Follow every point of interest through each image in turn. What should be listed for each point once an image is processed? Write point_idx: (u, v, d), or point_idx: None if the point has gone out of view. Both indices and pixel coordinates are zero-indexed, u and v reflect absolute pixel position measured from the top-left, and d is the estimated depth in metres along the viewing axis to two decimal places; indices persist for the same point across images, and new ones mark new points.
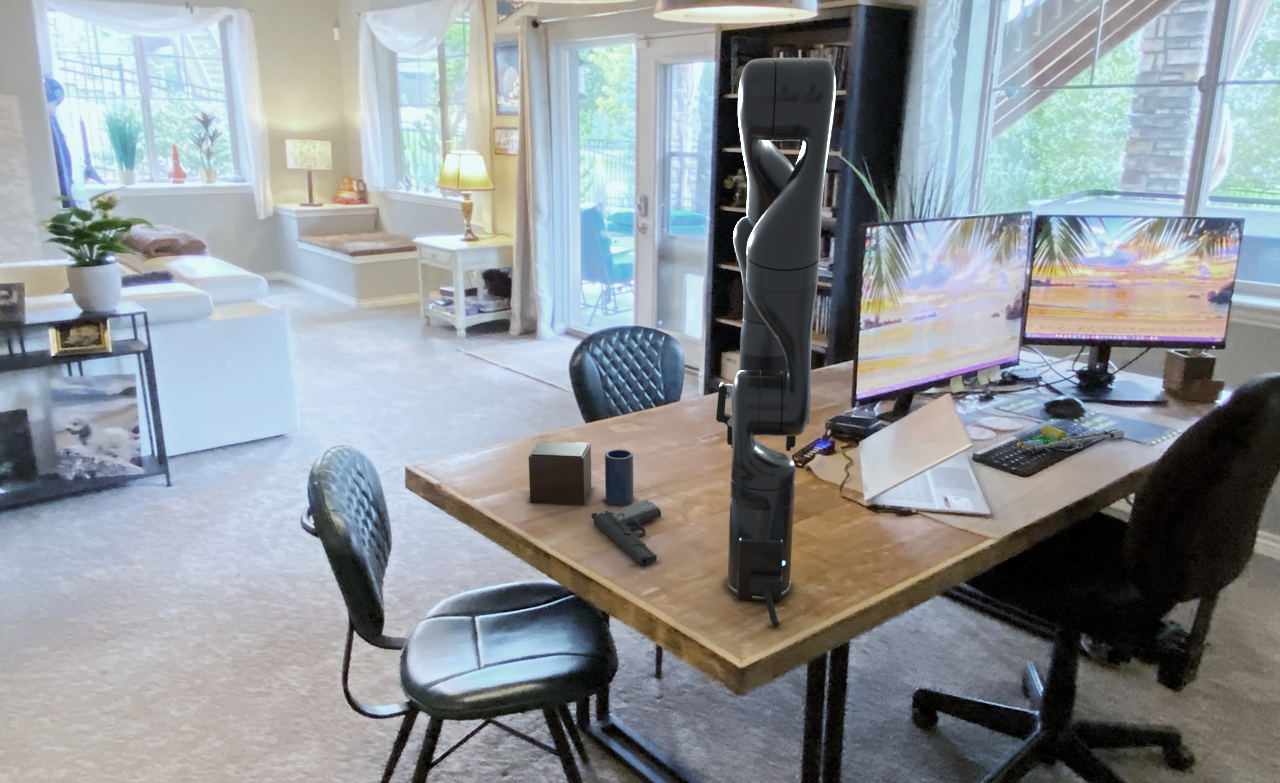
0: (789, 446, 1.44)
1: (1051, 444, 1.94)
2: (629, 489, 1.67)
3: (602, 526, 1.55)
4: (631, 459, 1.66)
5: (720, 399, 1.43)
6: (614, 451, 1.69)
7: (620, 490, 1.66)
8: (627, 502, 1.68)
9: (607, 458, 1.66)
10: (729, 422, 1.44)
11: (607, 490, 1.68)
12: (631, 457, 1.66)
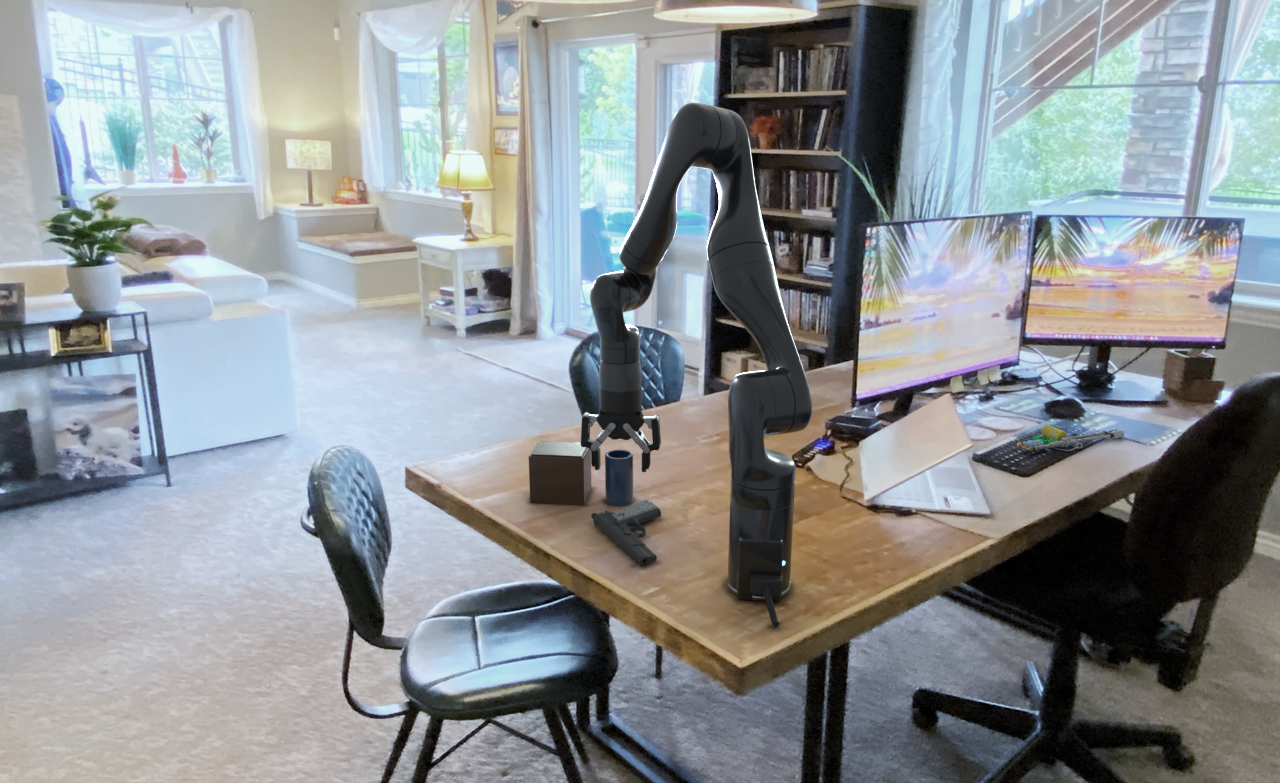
0: (644, 468, 1.66)
1: (1051, 444, 1.94)
2: (629, 489, 1.67)
3: (602, 526, 1.55)
4: (631, 459, 1.66)
5: (583, 427, 1.65)
6: (614, 451, 1.69)
7: (620, 490, 1.66)
8: (627, 502, 1.68)
9: (607, 458, 1.66)
10: (592, 447, 1.66)
11: (607, 490, 1.68)
12: (631, 457, 1.66)
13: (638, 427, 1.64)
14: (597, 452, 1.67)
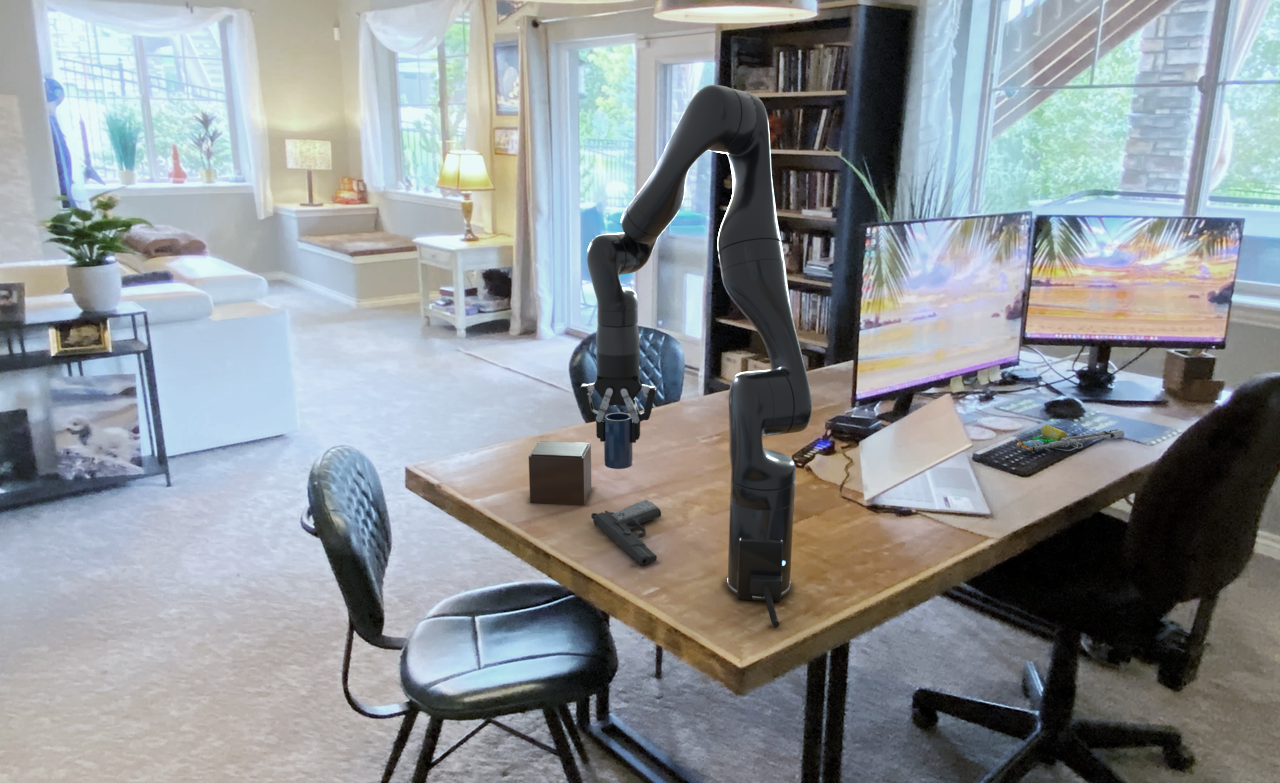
0: (634, 438, 1.64)
1: (1051, 444, 1.94)
2: (628, 452, 1.65)
3: (602, 526, 1.55)
4: (630, 421, 1.64)
5: (583, 398, 1.63)
6: (613, 414, 1.67)
7: (619, 453, 1.64)
8: (626, 465, 1.65)
9: (606, 420, 1.63)
10: (597, 418, 1.64)
11: (606, 453, 1.65)
12: (630, 419, 1.64)
13: (636, 392, 1.62)
14: (602, 423, 1.64)
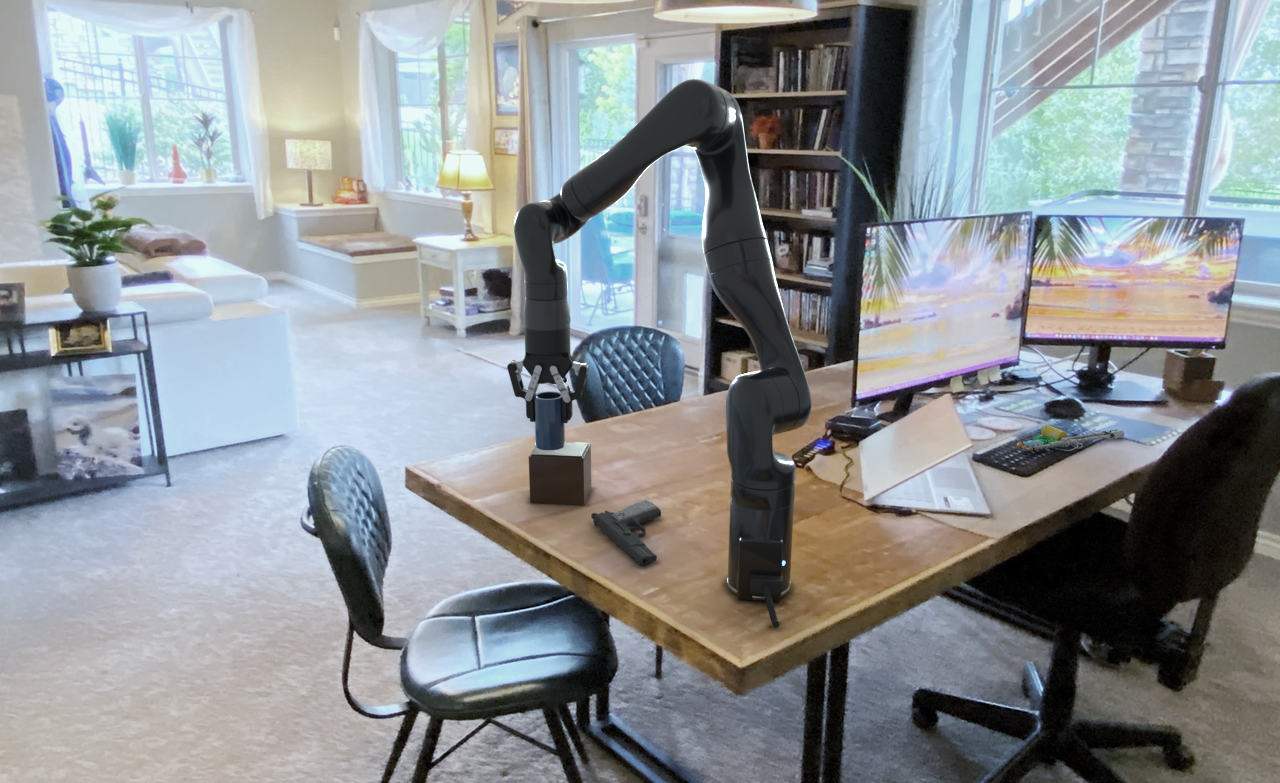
0: (565, 419, 1.56)
1: (1051, 444, 1.94)
2: (559, 433, 1.57)
3: (602, 526, 1.55)
4: (561, 400, 1.56)
5: (512, 376, 1.55)
6: (544, 393, 1.58)
7: (549, 434, 1.56)
8: (557, 447, 1.57)
9: (535, 399, 1.55)
10: (526, 397, 1.56)
11: (536, 434, 1.57)
12: (561, 398, 1.56)
13: (566, 370, 1.54)
14: (532, 402, 1.56)
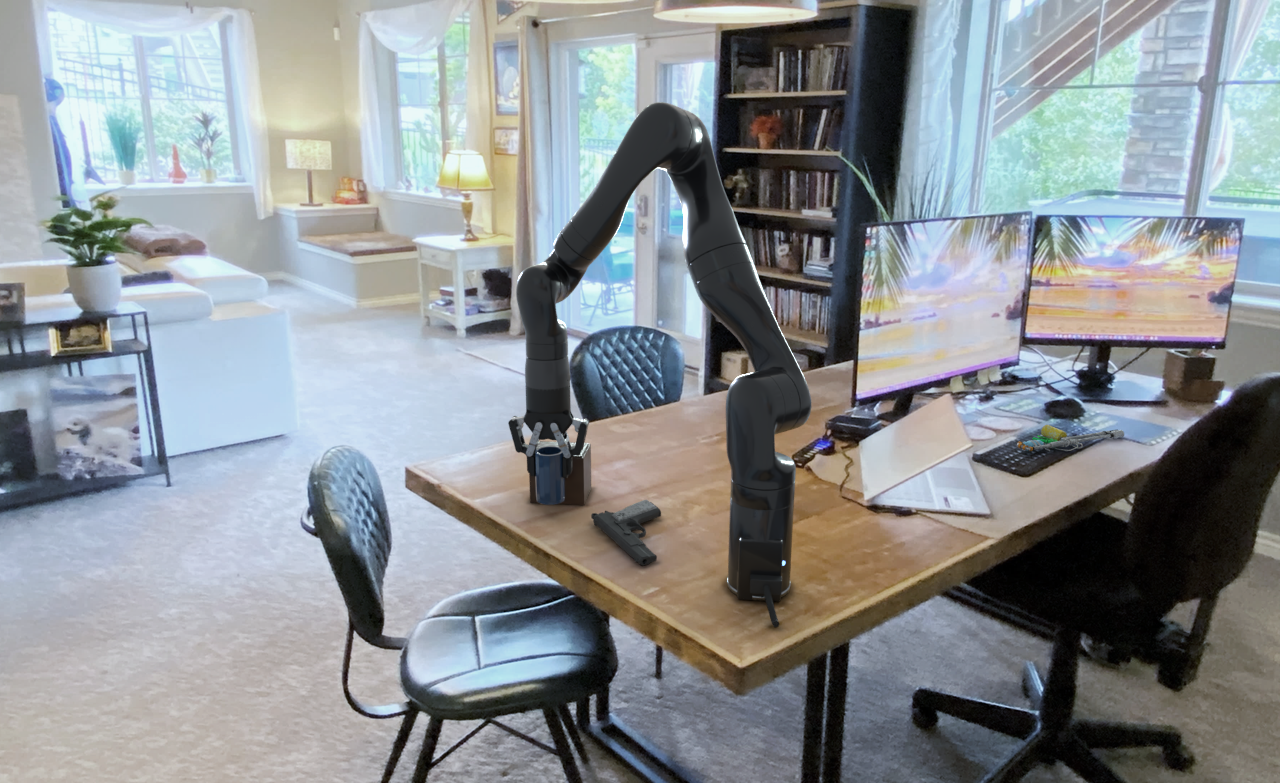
0: (565, 474, 1.59)
1: (1051, 444, 1.94)
2: (560, 487, 1.59)
3: (602, 526, 1.55)
4: (561, 456, 1.58)
5: (513, 432, 1.58)
6: (545, 448, 1.61)
7: (549, 489, 1.59)
8: (558, 501, 1.60)
9: (536, 455, 1.58)
10: (527, 452, 1.59)
11: (537, 488, 1.60)
12: (561, 454, 1.58)
13: (566, 427, 1.57)
14: (533, 458, 1.59)
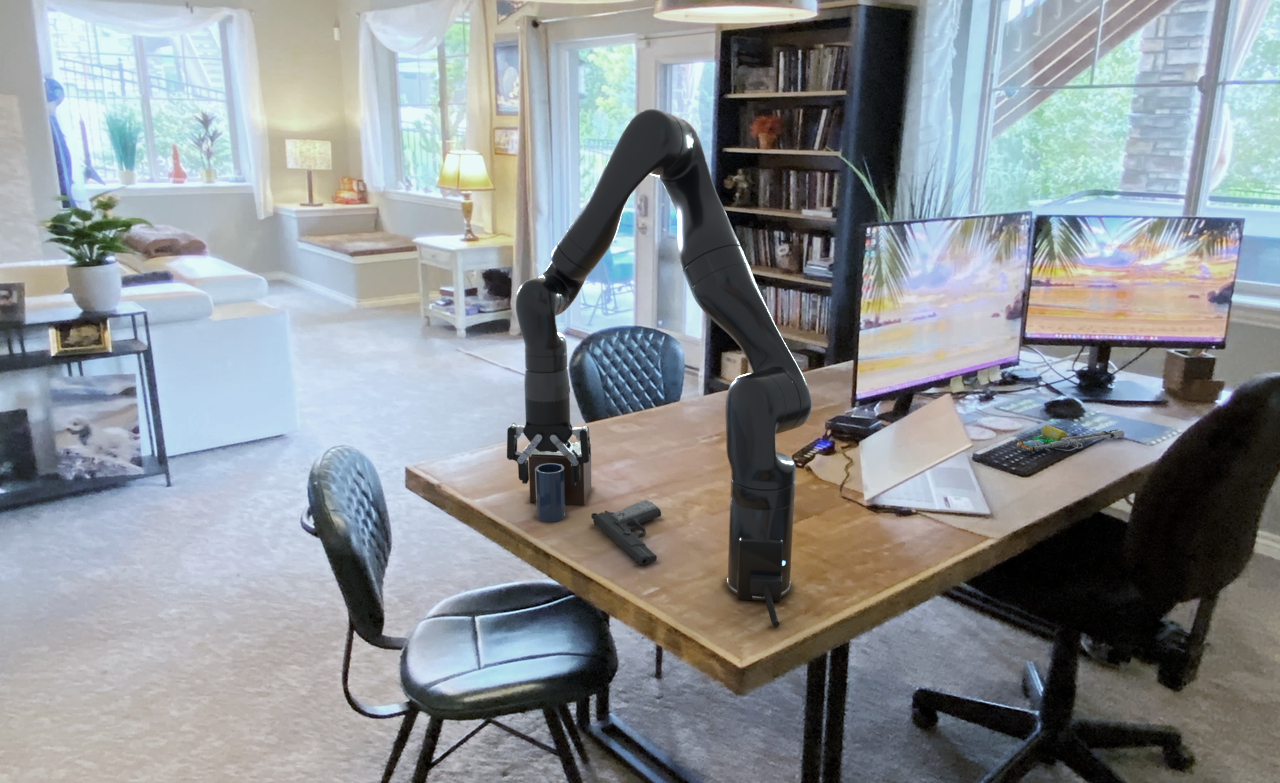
0: (573, 481, 1.59)
1: (1051, 444, 1.94)
2: (560, 505, 1.60)
3: (602, 526, 1.55)
4: (562, 473, 1.59)
5: (509, 439, 1.58)
6: (545, 465, 1.62)
7: (550, 506, 1.60)
8: (558, 518, 1.61)
9: (537, 472, 1.59)
10: (518, 460, 1.59)
11: (537, 506, 1.61)
12: (562, 471, 1.59)
13: (566, 439, 1.57)
14: (524, 465, 1.59)
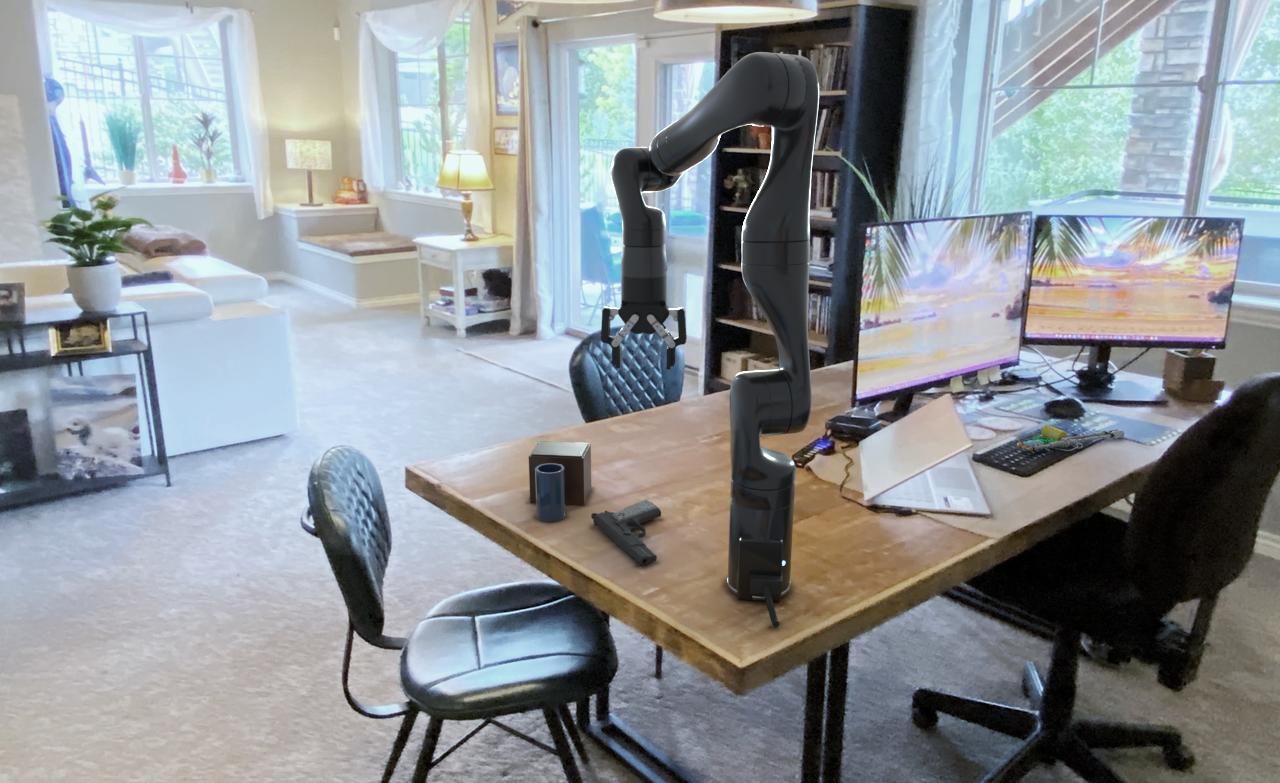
0: (669, 365, 1.55)
1: (1051, 444, 1.94)
2: (560, 505, 1.60)
3: (602, 526, 1.55)
4: (562, 473, 1.59)
5: (604, 321, 1.54)
6: (545, 465, 1.62)
7: (550, 506, 1.60)
8: (558, 518, 1.61)
9: (537, 472, 1.59)
10: (613, 343, 1.55)
11: (537, 506, 1.61)
12: (562, 471, 1.59)
13: (663, 319, 1.53)
14: (618, 348, 1.55)
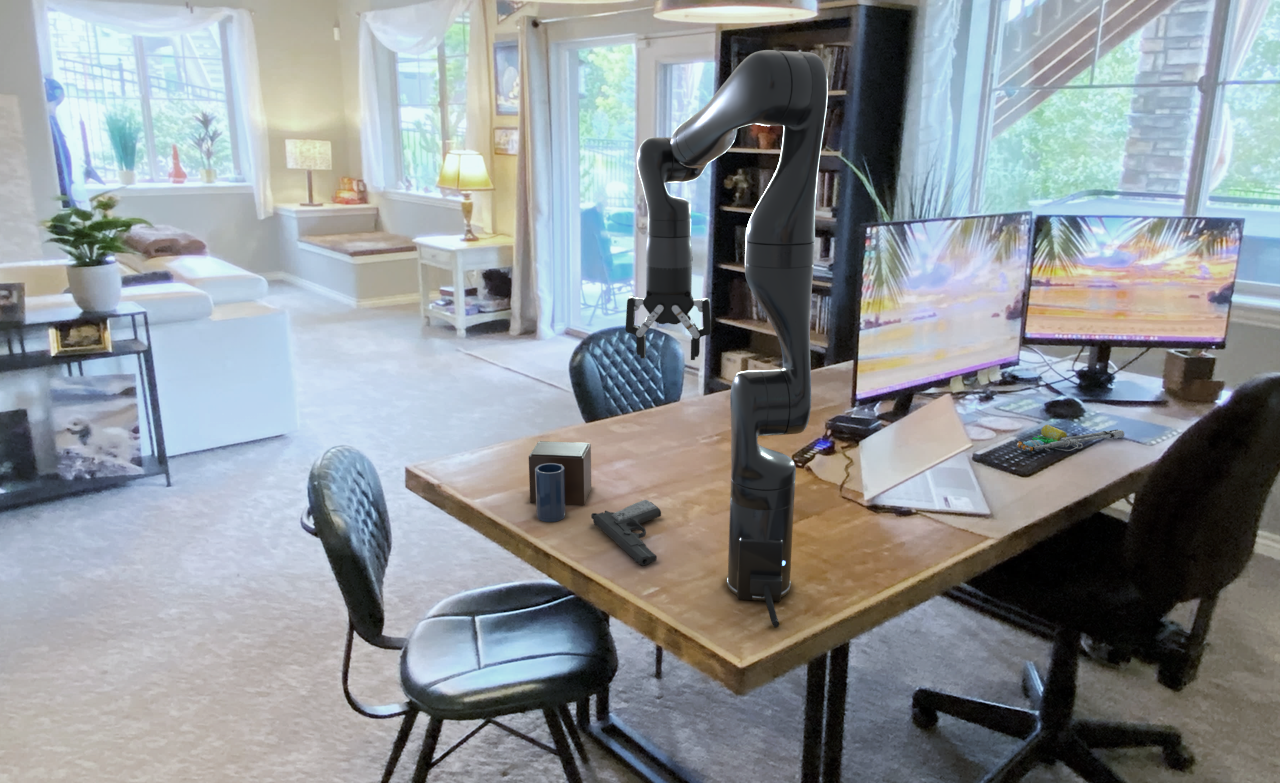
0: (693, 355, 1.55)
1: (1051, 444, 1.94)
2: (560, 505, 1.60)
3: (602, 526, 1.55)
4: (562, 473, 1.59)
5: (628, 311, 1.54)
6: (545, 465, 1.62)
7: (550, 506, 1.60)
8: (558, 518, 1.61)
9: (537, 472, 1.59)
10: (637, 333, 1.55)
11: (537, 506, 1.61)
12: (562, 471, 1.59)
13: (688, 310, 1.53)
14: (643, 338, 1.55)
